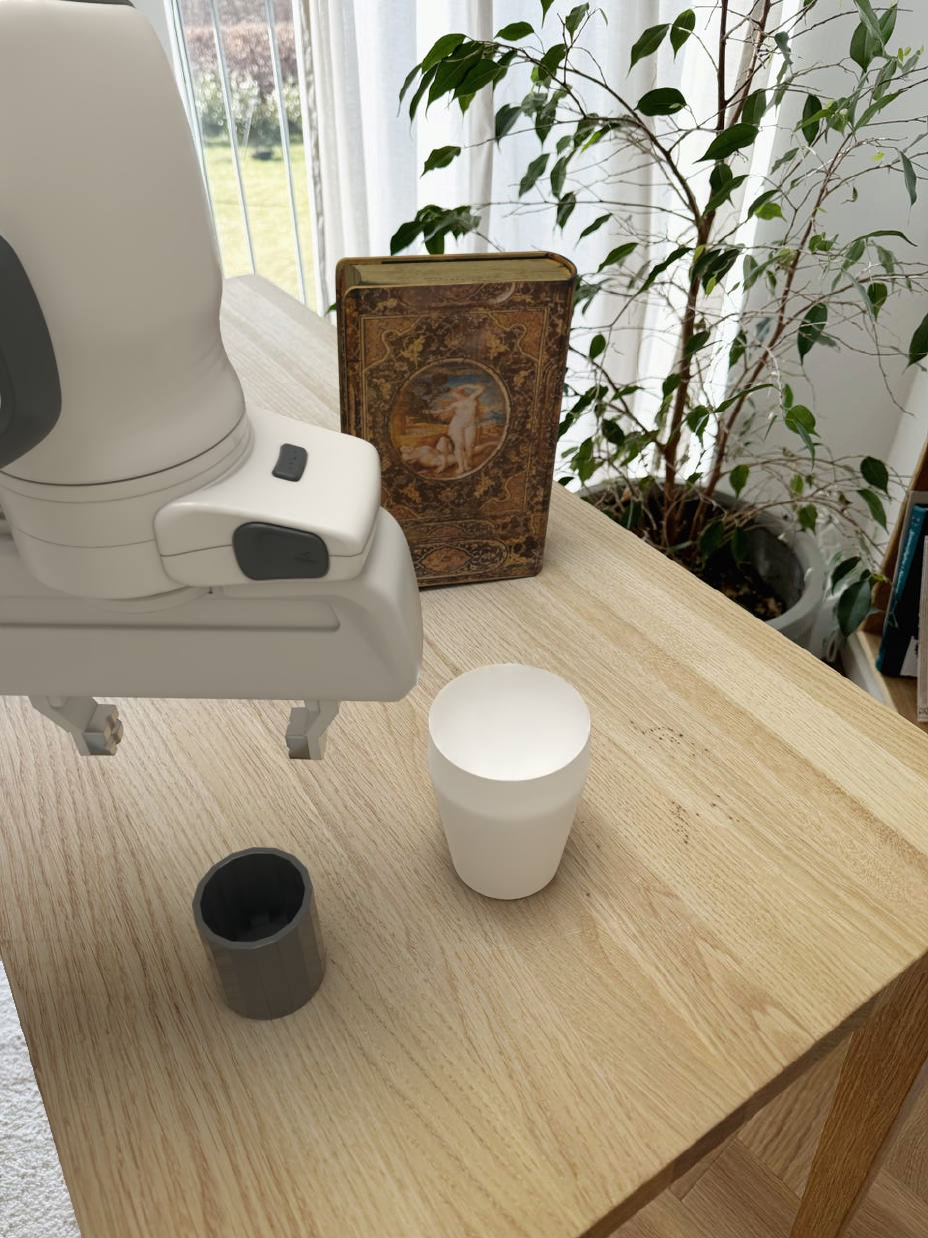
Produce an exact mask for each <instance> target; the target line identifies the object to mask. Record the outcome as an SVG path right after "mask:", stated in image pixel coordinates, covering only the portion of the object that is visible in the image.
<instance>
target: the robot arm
mask: <svg viewBox="0 0 928 1238" xmlns="http://www.w3.org/2000/svg"><path fill="white" fill-rule="evenodd" d="M177 83H178V82H177V80H176V77H175V74H174V72H173V69H172V67H171V64H170V61H169V59H168V56H167V53H166V51H165V49H164V47H163V44H162V43H161V40H160V38H159V36H158V34H157V33H156V31H155V28H154V26H153V25H152V23H151V21H150V20H149V19H148V18H147V16H146V15H145V14H144V13H143V12H141V11H140V10H139V9H138V8H137V7H136V6H135V5H134V3H132V2H131V1H130V0H0V696H7V697H8V696H9V697H10V696H11V697H13V696H15V697H23V696H24V697H28V699H29V702H30V704H31V706H32V708H33V709H34V710H36V711H37V712H38V713H40V714H41V715H43V716H44V717H46V718H47V719H48V720H50V721H51V722H53V723H54V724H55V725H56V726H58V727H59V728H61V729H62V730H64V731H65V732H67V733H70V735H71V737H72V739H73V742H74V744H75V746H76V749H77V751H78V754H79V755H80V756H81V757H92V756H96V757H97V756H99V757H101V756H103V757H104V756H105V757H106V756H107V757H111V756H112V757H114V756H115V755H116V754H117V752H118V750H119V749H118V746H117V745H118V744H120V743H121V741H122V739H123V737H124V725H123V722H122V721H121V719H119V716H120V713H119V710H118V707H117V704H110V703H109V704H108V703H99V702H97V701H96V700H95V699H94V698H132V699H133V698H135V699H189V700H191V699H192V700H193V699H196V700H199V699H200V700H201V699H202V700H249V701H251V700H252V701H253V700H254V701H258V700H260V701H303V702H304V703H303V704H304V706H303V707H302V706H301V707H298V706H297V707H291V710H290V714H289V717H288V719H289V724H287V726H286V731H285V735H284V738H285V744H286V747H287V748H288V754H287V755H288V758H289V759H290V760H305V761H323V759H324V757H325V752H326V747H327V741H328V728H329V727H330V725H331V723H332V722H333V721H334V720H335V718H336V717H337V716H338V714H339V712H340V706H341V702H373V703H375V702H376V703H377V702H378V703H394V702H400V701H402V700H404V699H405V697H407V696H408V695H409V694H410V693H411V692H412V691H413V690H415V688H416V687H417V686H418V684H419V681H420V680H421V673H422V667H423V656H424V639H425V638H424V637H425V636H424V619H423V618H424V617H423V610H422V609H423V608H422V602H421V595H420V589H419V587H418V584H417V579H416V574H415V570H414V566H413V562H412V558H411V554H410V550H409V547H408V544H407V541H406V538H405V535H404V533H403V531H402V529H401V527H400V526H399V524H398V523H397V521H396V520H395V519H394V517H393V516H392V515H391V514H390V513H389V512H388V511H387V510H385V509H384V508H383V507H381V506H380V502H381V467H380V458H379V454H378V452H377V450H376V448H375V447H374V446H373V445H372V444H370V443H369V442H367V441H365V440H363V439H360V438H357V437H354V436H351V435H347V434H344V433H341V431H336V430H333V429H330V428H325V427H322V426H318V425H315V424H312V423H309V422H305V421H302V420H298V419H295V418H292V417H290V416H286V415H283V414H281V413H277V412H275V411H272V410H270V409H266V408H263V407H261V406H258V405H256V404H253V403H251V402H248V401H246V399H245V393H244V390H243V385H242V383H241V380H240V377H239V375H238V373H237V371H236V369H235V367H234V366H233V364H232V362H231V361H230V358H229V356H228V353H227V351H226V349H225V346H224V343H223V337H222V333H221V332H222V331H221V321H220V320H221V319H220V315H221V306H222V297H223V289H224V288H223V284H224V283H223V281H224V280H223V269H222V263H221V260H220V259H221V258H220V253H219V247H218V242H217V238H216V232H215V227H214V223H213V218H212V213H211V209H210V208H211V207H210V203H209V199H208V194H207V189H206V185H205V182H204V181H205V180H204V177H203V173H202V167H201V164H200V160H199V156H198V152H197V148H196V144H195V140H194V136H193V132H192V129H191V125H190V122H189V118H188V115H187V112H186V109H185V105H184V102H183V98H182V96H181V95H182V94H181V92H180V89H179V87H178V84H177Z"/></svg>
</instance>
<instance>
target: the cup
mask: <svg viewBox="0 0 928 1238" xmlns="http://www.w3.org/2000/svg"><path fill="white" fill-rule="evenodd" d="M581 695H582V694H580V692H579V691H578V690H577V689H576V688H575V687H574V686H572V684H570V683H569V682H568V681H567V680H565V679H564V678H562V677H560V676H559V675H557V674H555V673H553V672H551V671H548V670H546V669H543V668H540V667H536V666H533V665H528V664H521V663H493V664H486V665H482V666H479V667H476V668H472V669H469V670H467V671H464V672H463V673H461V674H458V675H457V676H455V677H454V678H453V679H451V680H450V681H449V682H447V683H446V684H445V685H444V686H443V687H442V688H441V689H440V690H439V691H438V693H437V694H436V696H435V697H434V699H433V701H432V703H431V705H430V708H429V712H428V720H427V721H428V724H427V725H428V730H427V732H428V733H427V734H428V737H427V750H426V764H427V769H428V774H429V779H430V782H431V786H432V790H433V793H434V794H433V795H434V797H435V801H436V805H437V808H438V812H439V816H440V820H441V823H442V828H443V831H444V835H445V838H446V842H447V846H448V850H449V853H450V857H451V860H452V865H453V867H454V869H455V871H456V873H457V876H458V877H459V878H460V880H462V881H463V883H464V884H466V885H467V887H469V888H470V889H471V890H473V891H475V892H476V893H478V894H481V895H482V896H486V897H489V898H492V899H497V900H498V899H499V900H517V899H521V898H526V897H529V896H531V895H533V894H536V893H538V892H540V891H541V890H542V889H544V888H545V887H546V886H547V885H548V884H549V883H550V882H551V881H552V880H553V878H554V877H555V875H556V874H557V871H558V869H559V866H560V863H561V860H562V857H563V854H564V850H565V848H566V844H567V841H568V838H569V835H570V832H571V830H572V826H573V823H574V820H575V817H576V815H577V811H578V807H579V806H580V805H579V804H580V802H581V798H582V795H583V792H584V790H585V786H586V783H587V779H588V776H589V771H590V768H591V715H590V712H589V708H588V706H587V704H586V701H585V700H584V698H583V697H582V696H581Z"/></svg>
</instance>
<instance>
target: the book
mask: <svg viewBox="0 0 928 1238" xmlns="http://www.w3.org/2000/svg"><path fill="white" fill-rule="evenodd" d="M335 264H336V265H335V269H334V270H335V271H334V273H335V274H334V283H335V284H334V285H335V286H334V288H335V313H336V314H335V316H336V340H337V341H336V342H337V344H336V345H337V367H338V392H339V393H338V394H339V395H338V397H339V420H340V421H339V422H340V433H344V434H347V435H351V436H354V437H357V438H360V439H363V440H365V441H367V442H369V443H370V444H372V445H373V446H374V447H375V448H376V450H377V452H378V454H379V458H380V467H381V502H380V506H381V507H383V508H384V509H385V510H387V511H388V512H389V513H390V514H391V515H392V516H393V517H394V519H395V520H396V521H397V523H398V524H399V526H400V527H401V529H402V531H403V533H404V535H405V538H406V541H407V544H408V547H409V550H410V554H411V558H412V562H413V566H414V570H415V574H416V579H417V584H418V588H419V587H420V588H421V587H422V588H423V587H431V586H441V585H451V584H453V585H454V584H461V583H462V584H463V583H472V582H473V583H475V582H483V581H494V580H495V581H496V580H504V579H515V578H526V577H535V576H537V575H538V574H540V572H541V571H542V569H543V565H544V564H543V563H544V556H545V548H546V541H547V533H548V532H547V531H548V523H549V513H550V505H551V499H552V498H551V497H552V489H553V480H554V471H555V466H556V465H555V463H556V454H557V447H558V439H559V431H560V421H561V414H562V407H563V406H562V405H563V396H564V388H565V379H566V373H567V372H566V371H567V364H568V363H567V362H568V354H569V347H570V340H571V339H570V338H571V330H572V321H573V312H574V306H575V305H574V304H575V298H576V297H575V296H576V287H577V279H578V268H577V266H576V264H575V263H574V262H573V261H572V260H571V259H569V258H568V257H566V256H564V255H562V254H560V253H556V252H553V251H548V250H531V251H530V250H529V251H501V252H499V251H498V252H472V253H471V252H470V253H469V252H468V253H442V254H439V253H438V254H410V255H408V254H407V255H381V256H379V255H377V256H352V257H351V256H350V257H349V256H348V257H346V256H345V257H342V258H340V259H339V260H338V261H337V262H336V263H335Z"/></svg>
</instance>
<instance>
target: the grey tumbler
mask: <svg viewBox="0 0 928 1238" xmlns="http://www.w3.org/2000/svg"><path fill="white" fill-rule="evenodd" d="M191 908H192V914H193V918H194V919H193V920H194V924H195V927H196V931H197V933H198V936H199V939H200V943H201V945H202V948H203V951H204V954H205V957H206V959H207V963H208V966H209V968H210V971H211V974H212V977H213V979H214V982H215V986H216V989H217V992H218V993H219V995H220V997H221V999H222V1000H223V1002H224V1004H226V1005H227V1007H229V1009H231V1010H232V1011H233V1012H234V1013H236V1014H238V1015H240V1016H242V1017H245V1018H248V1019H253V1020H262V1021H264V1020H266V1021H267V1020H268V1021H269V1020H275V1019H279V1018H282V1017H285V1016H287V1015H290V1014H293V1013H294V1012H296V1011H298V1010H299V1009H300V1008H301V1007H303V1006H304V1005H306V1004H307V1003H308V1002H309V1001H310V999H311V998H313V996H314V995H315V994H316V993H317V991H318V990H319V988H320V986H321V984H322V981H323V980H324V976H325V972H326V966H327V965H326V964H327V961H326V958H327V954H326V948H325V944H324V937H323V933H322V927H321V922H320V917H319V911H318V907H317V902H316V897H315V892H314V886H313V883H312V879H311V875H310V872H309V869H308V868H307V867H306V866H305V865H304V864H303V863H302V862H301V860H299V858H298V857H296V855H294V854H292V853H290V852H287V851H285V850H282V849H279V848H277V847H262V846H261V847H259V846H258V847H257V846H254V847H249V848H246V849H242V850H239V851H235V852H233V853H230V854H228V855H227V856H224V858H222V859H221V860H219V861H218V862H216V863H215V864H213V865H212V866H211V867H210V868H209V869H208V871H207V872H206V873H205V874H204V876H203V877H202V878H201V879H200V881H198V884H197V885H196V888H195V892H194V896H193V898H192V902H191Z"/></svg>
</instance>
